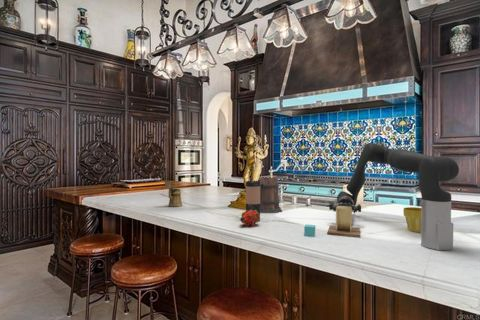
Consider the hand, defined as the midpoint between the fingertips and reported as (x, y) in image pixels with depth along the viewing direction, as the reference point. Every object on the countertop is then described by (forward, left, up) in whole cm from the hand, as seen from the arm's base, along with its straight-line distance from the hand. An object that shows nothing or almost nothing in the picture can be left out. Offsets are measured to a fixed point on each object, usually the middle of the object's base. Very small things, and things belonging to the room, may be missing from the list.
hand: (344, 209), depth 138 cm
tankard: (+46, +26, -9) cm, 53 cm away
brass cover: (-6, +3, -8) cm, 10 cm away
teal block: (-8, +20, -9) cm, 23 cm away
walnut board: (-6, +3, -9) cm, 11 cm away
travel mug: (+25, +38, -9) cm, 46 cm away
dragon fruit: (+12, +42, -9) cm, 44 cm away
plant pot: (-8, -30, -9) cm, 32 cm away
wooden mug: (+71, +82, -9) cm, 109 cm away
